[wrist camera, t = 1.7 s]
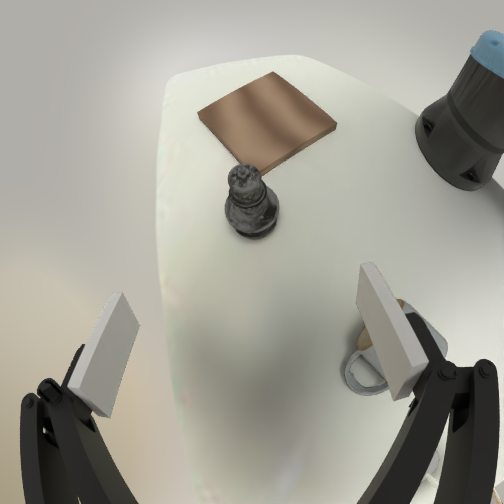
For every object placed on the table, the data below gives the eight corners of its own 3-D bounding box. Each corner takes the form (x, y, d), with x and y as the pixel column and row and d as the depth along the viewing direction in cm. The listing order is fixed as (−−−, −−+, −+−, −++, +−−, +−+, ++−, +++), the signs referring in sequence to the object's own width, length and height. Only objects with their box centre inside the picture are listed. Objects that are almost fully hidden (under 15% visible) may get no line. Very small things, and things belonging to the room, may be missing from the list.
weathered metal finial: (227, 200, 34) (202, 146, 22) (274, 191, 34) (270, 132, 22) (233, 246, 33) (209, 208, 21) (283, 236, 32) (285, 193, 21)
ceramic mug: (384, 295, 30) (412, 290, 22) (427, 337, 28) (460, 341, 20) (325, 365, 29) (338, 381, 21) (371, 405, 27) (394, 427, 19)
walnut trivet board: (273, 77, 38) (273, 71, 37) (335, 129, 35) (337, 122, 33) (199, 118, 37) (197, 112, 36) (255, 180, 34) (253, 174, 33)
